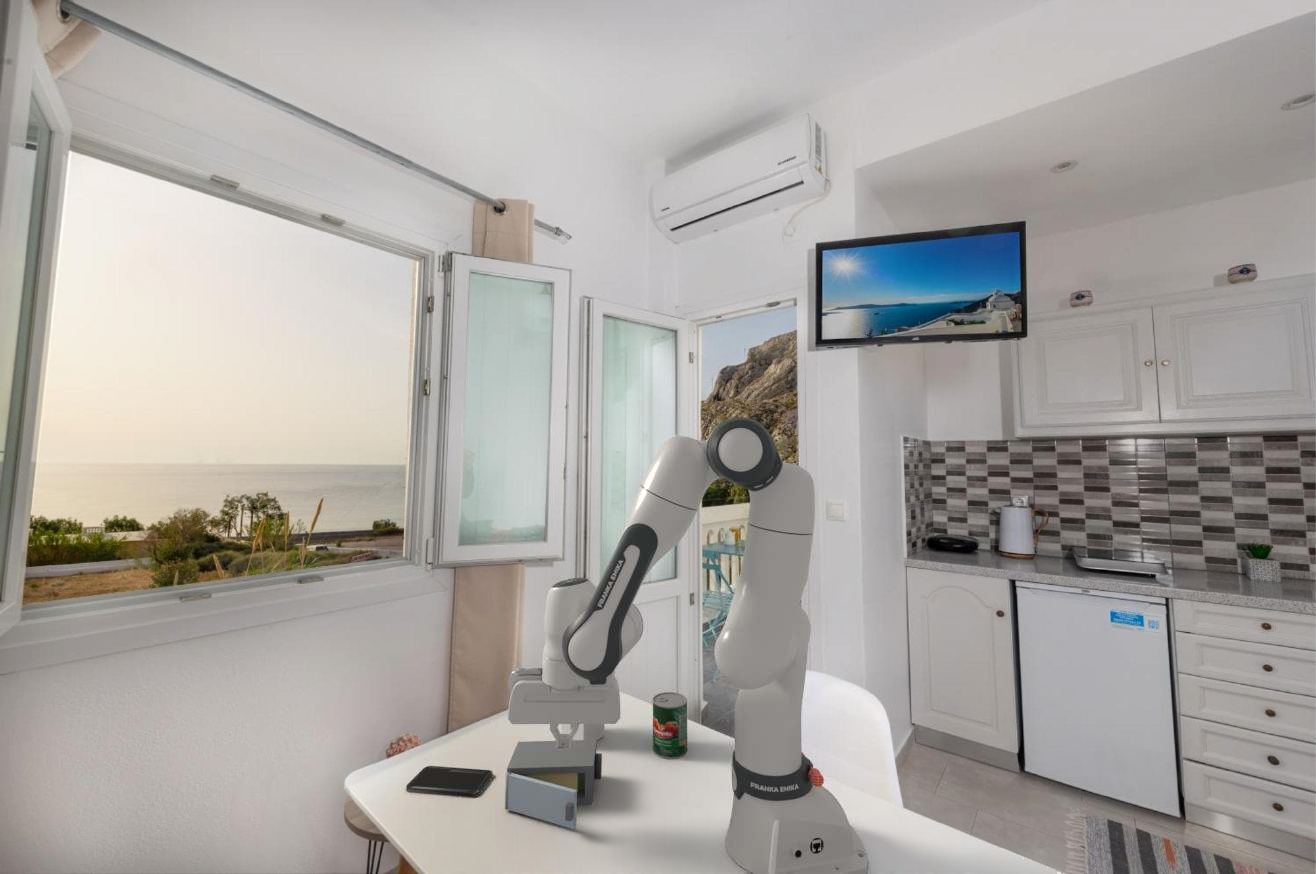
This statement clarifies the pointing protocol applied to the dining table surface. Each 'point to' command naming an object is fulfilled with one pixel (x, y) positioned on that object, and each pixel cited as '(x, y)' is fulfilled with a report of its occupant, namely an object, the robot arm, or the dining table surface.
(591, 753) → the box
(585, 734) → the milk carton
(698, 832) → the dining table surface
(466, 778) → the phone
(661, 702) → the canned tomato
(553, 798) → the side door
